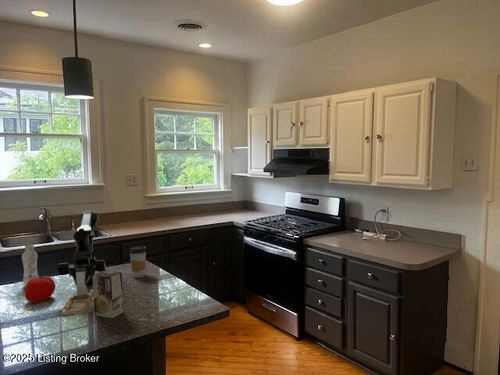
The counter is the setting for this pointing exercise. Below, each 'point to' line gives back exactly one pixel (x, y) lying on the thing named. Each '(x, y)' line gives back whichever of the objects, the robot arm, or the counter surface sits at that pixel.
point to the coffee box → (108, 294)
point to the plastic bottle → (29, 263)
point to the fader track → (79, 304)
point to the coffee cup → (138, 261)
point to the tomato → (39, 289)
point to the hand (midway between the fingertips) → (80, 285)
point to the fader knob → (81, 283)
